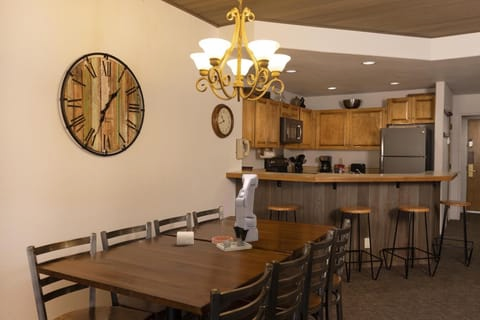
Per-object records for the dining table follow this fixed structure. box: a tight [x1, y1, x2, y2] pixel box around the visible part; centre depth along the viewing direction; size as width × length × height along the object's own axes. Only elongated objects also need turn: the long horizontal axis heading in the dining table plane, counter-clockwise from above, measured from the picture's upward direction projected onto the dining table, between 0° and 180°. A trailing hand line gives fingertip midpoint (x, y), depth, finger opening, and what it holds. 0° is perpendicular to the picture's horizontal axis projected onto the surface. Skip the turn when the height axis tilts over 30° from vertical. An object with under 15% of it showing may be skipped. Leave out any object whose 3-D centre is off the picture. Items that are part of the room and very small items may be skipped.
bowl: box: [211, 235, 234, 246], centre depth 245 cm, size 13×13×4 cm
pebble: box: [223, 241, 231, 248], centre depth 231 cm, size 4×4×4 cm
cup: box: [176, 231, 195, 246], centre depth 244 cm, size 8×12×10 cm
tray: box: [215, 241, 253, 252], centre depth 233 cm, size 18×13×2 cm
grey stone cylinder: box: [236, 238, 245, 247], centre depth 235 cm, size 4×4×4 cm
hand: (240, 239), depth 234 cm, fingers open, 7 cm apart
